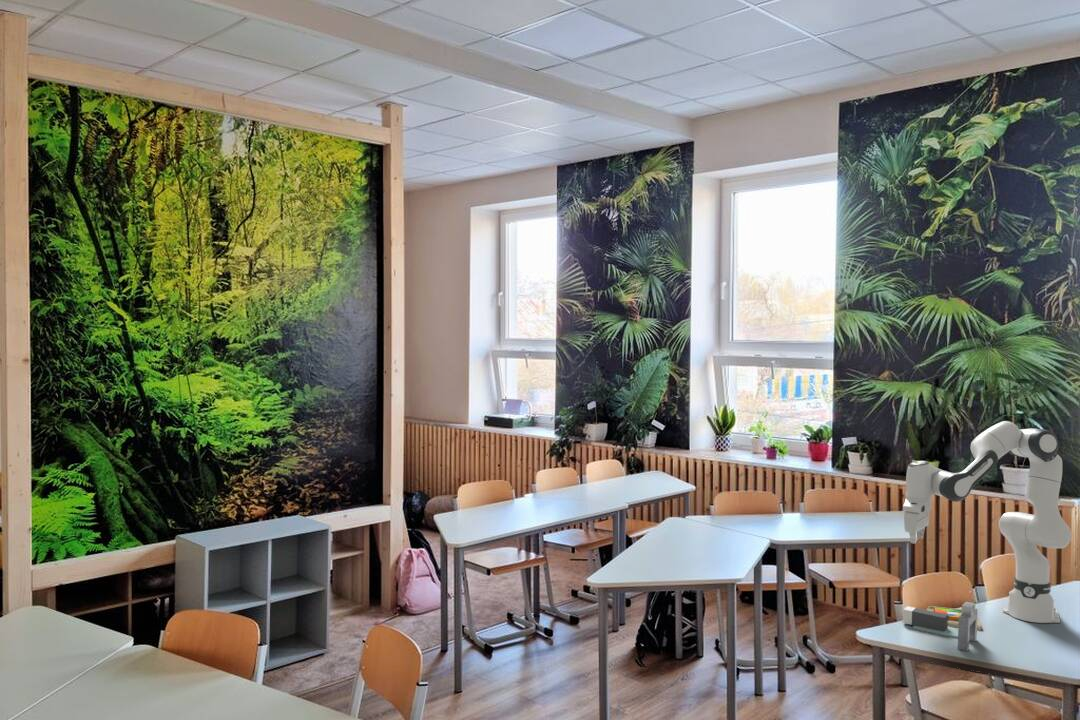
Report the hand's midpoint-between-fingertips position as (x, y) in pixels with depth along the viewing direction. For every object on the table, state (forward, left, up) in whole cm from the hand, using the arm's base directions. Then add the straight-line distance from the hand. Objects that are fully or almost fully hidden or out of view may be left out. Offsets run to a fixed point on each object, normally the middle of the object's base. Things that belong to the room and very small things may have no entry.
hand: (916, 540), depth 319 cm
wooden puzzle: (-7, +12, -30) cm, 33 cm away
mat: (+9, +12, -29) cm, 33 cm away
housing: (+18, +22, -29) cm, 41 cm away
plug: (+9, +6, -28) cm, 30 cm away
